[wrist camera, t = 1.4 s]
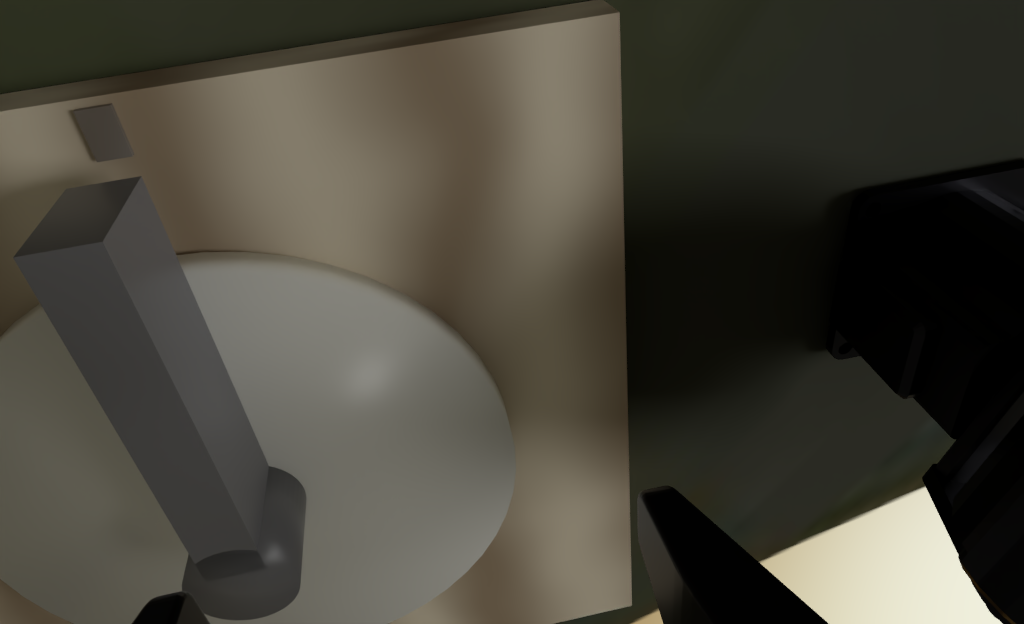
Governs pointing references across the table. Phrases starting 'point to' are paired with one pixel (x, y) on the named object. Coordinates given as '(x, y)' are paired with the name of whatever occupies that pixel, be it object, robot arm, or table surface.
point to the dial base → (405, 238)
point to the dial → (234, 431)
